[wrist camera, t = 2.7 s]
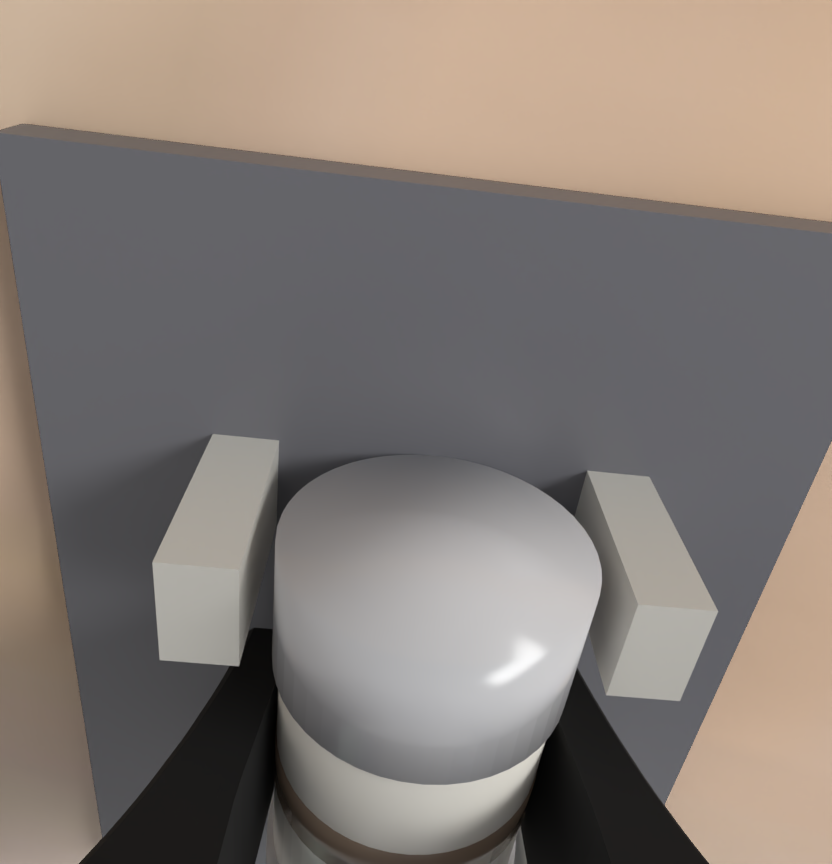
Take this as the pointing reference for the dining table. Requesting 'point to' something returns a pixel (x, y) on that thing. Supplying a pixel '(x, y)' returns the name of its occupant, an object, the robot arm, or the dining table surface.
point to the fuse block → (401, 402)
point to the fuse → (419, 659)
